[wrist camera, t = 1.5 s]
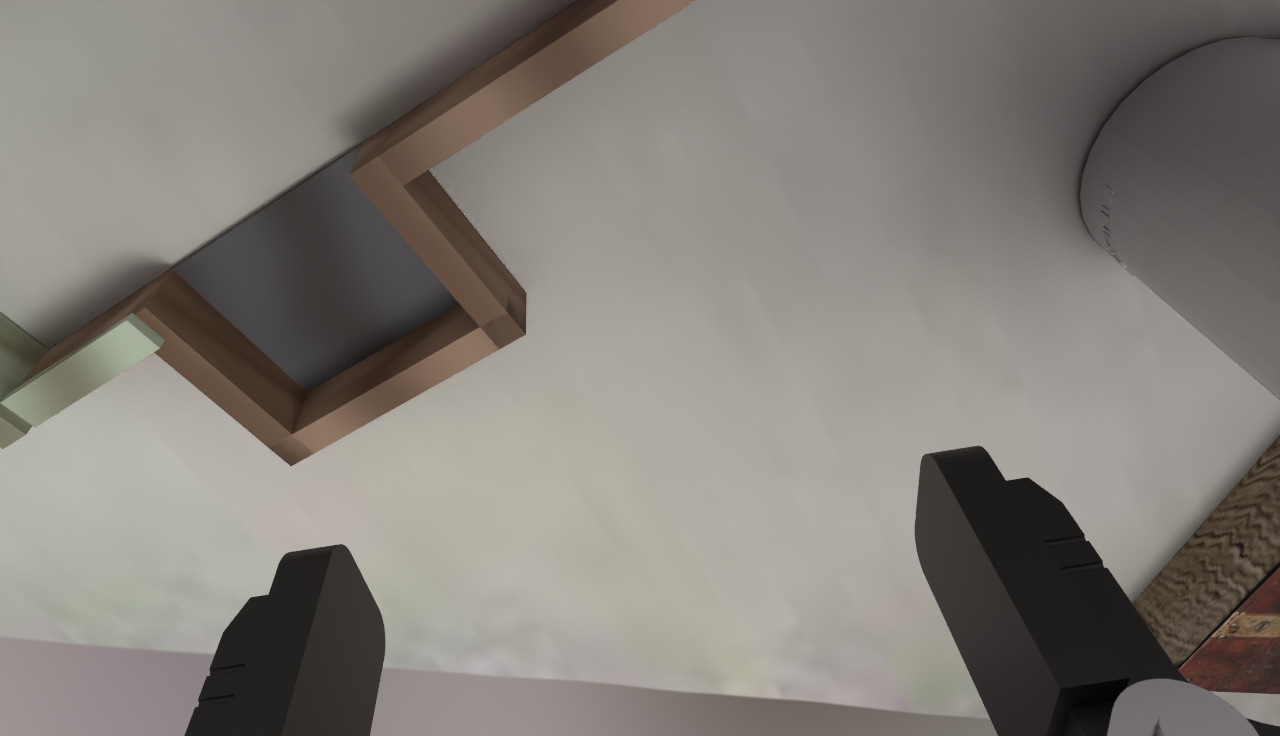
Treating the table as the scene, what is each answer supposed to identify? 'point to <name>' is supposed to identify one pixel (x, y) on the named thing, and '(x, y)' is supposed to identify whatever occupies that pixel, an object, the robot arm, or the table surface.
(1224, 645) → the latched wooden chest
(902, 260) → the table surface
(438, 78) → the table surface
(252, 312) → the trap box
